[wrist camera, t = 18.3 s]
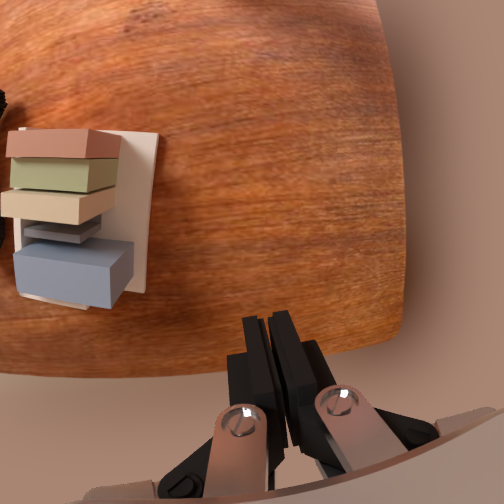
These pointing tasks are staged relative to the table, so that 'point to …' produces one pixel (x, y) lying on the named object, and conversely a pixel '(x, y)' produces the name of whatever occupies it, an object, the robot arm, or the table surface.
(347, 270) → the table surface
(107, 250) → the grey block
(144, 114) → the table surface
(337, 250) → the table surface
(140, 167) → the shelf
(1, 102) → the toy
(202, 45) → the table surface
